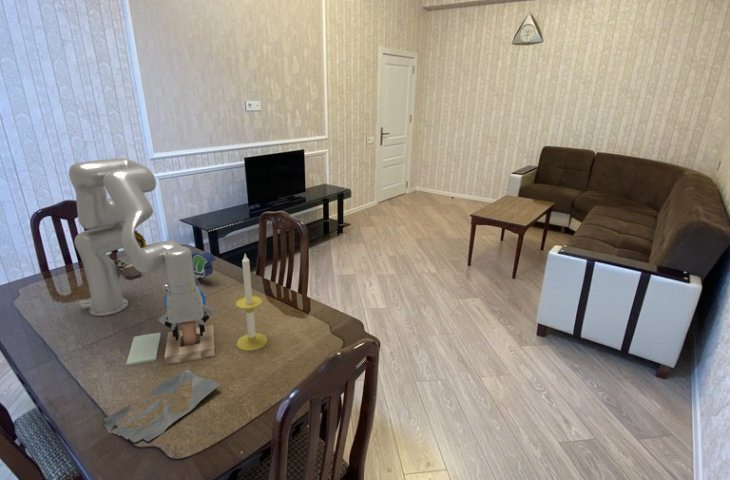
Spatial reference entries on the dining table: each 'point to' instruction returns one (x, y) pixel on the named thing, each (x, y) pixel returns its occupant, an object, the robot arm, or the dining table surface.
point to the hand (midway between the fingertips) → (189, 335)
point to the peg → (189, 333)
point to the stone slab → (200, 390)
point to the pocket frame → (190, 347)
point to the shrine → (140, 240)
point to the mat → (144, 349)
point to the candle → (249, 313)
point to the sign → (202, 264)
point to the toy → (127, 269)
